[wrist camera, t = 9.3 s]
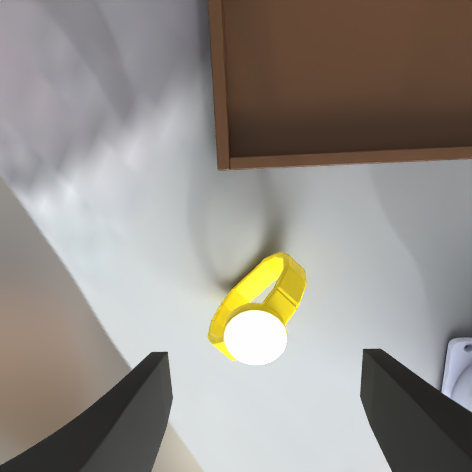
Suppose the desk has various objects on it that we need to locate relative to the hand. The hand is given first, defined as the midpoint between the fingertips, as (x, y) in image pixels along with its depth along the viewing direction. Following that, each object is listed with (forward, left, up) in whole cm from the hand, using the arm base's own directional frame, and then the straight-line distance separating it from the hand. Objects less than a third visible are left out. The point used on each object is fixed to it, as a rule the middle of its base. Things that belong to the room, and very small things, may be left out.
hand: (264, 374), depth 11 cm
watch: (0, 0, -8) cm, 8 cm away
